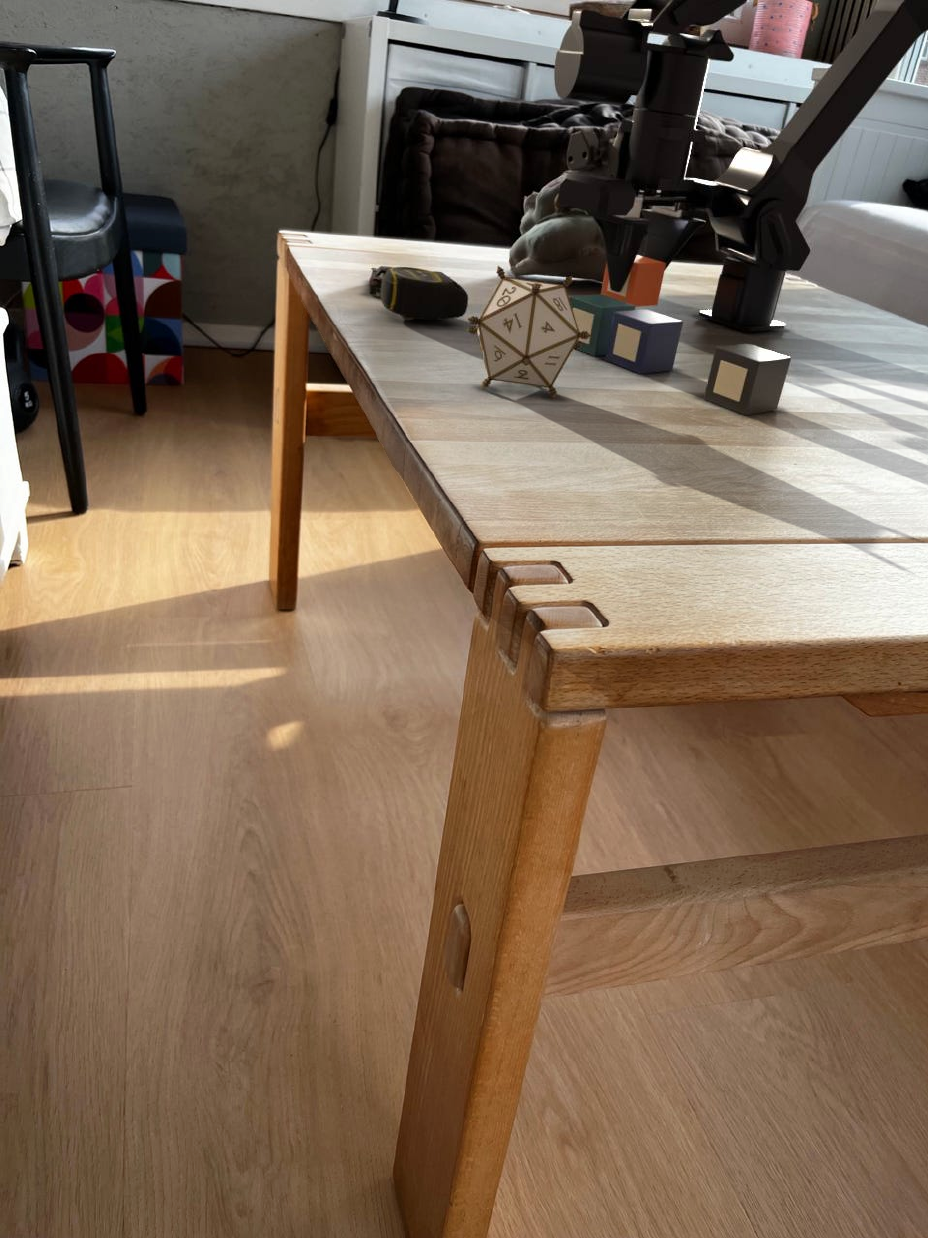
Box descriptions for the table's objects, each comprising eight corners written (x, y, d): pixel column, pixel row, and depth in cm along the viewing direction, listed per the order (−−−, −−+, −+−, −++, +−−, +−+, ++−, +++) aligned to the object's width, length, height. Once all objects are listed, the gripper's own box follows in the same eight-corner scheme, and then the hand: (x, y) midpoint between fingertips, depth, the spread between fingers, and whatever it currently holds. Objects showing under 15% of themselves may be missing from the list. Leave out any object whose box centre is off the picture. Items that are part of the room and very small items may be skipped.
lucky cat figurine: (482, 272, 111) (496, 145, 111) (536, 308, 121) (549, 191, 121) (608, 258, 102) (623, 120, 102) (655, 297, 112) (669, 172, 112)
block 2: (636, 356, 87) (646, 309, 85) (672, 370, 84) (683, 321, 82) (603, 360, 84) (613, 311, 82) (639, 374, 82) (650, 323, 80)
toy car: (371, 280, 101) (373, 257, 100) (406, 284, 101) (408, 261, 100) (367, 297, 94) (368, 273, 93) (404, 301, 94) (406, 277, 93)
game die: (522, 446, 74) (542, 359, 65) (435, 377, 76) (443, 283, 67) (598, 374, 77) (628, 282, 68) (513, 310, 79) (531, 211, 70)
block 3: (734, 393, 80) (748, 342, 78) (777, 409, 77) (791, 357, 76) (702, 398, 78) (714, 346, 76) (744, 415, 75) (759, 361, 73)
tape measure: (467, 330, 88) (472, 285, 86) (389, 325, 85) (394, 279, 84) (444, 310, 93) (449, 267, 91) (370, 305, 91) (374, 262, 89)
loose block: (627, 295, 102) (635, 253, 100) (657, 305, 100) (666, 262, 98) (599, 296, 100) (607, 254, 98) (629, 307, 97) (638, 263, 95)
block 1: (593, 340, 90) (601, 293, 88) (626, 352, 87) (636, 305, 86) (560, 343, 88) (568, 295, 86) (593, 356, 85) (602, 307, 83)
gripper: (665, 108, 102) (633, 269, 110) (529, 93, 91) (505, 273, 99) (755, 123, 95) (715, 294, 103) (620, 108, 84) (586, 301, 92)
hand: (630, 290), depth 99 cm, fingers closed on loose block, 4 cm apart
